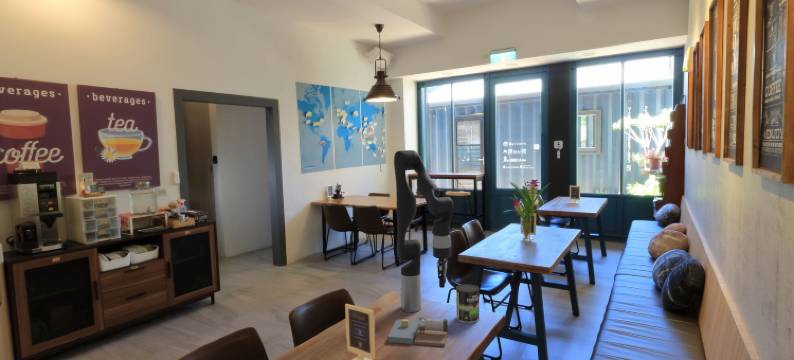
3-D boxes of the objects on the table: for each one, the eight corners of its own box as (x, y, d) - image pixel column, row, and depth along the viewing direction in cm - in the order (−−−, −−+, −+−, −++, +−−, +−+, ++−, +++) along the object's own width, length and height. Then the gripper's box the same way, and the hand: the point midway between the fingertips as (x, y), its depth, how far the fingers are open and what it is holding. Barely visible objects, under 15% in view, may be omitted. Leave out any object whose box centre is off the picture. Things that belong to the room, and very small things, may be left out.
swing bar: (417, 330, 171) (417, 320, 171) (418, 326, 174) (418, 317, 174) (447, 332, 168) (446, 322, 168) (447, 328, 172) (447, 319, 171)
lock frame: (396, 324, 183) (396, 313, 182) (448, 328, 178) (448, 316, 178) (388, 342, 167) (387, 330, 167) (444, 346, 163) (444, 334, 162)
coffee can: (484, 320, 185) (484, 289, 184) (465, 325, 180) (465, 293, 179) (470, 311, 194) (469, 282, 193) (451, 316, 190) (451, 286, 188)
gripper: (449, 250, 166) (450, 291, 167) (452, 241, 180) (453, 279, 181) (430, 249, 167) (431, 290, 169) (434, 240, 181) (435, 279, 183)
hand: (442, 284), depth 175 cm, fingers open, 5 cm apart
